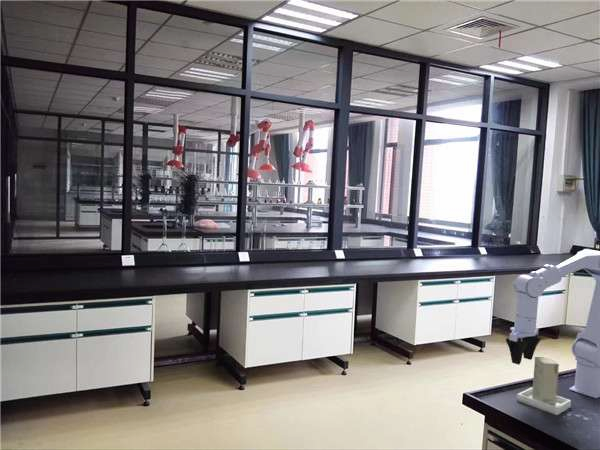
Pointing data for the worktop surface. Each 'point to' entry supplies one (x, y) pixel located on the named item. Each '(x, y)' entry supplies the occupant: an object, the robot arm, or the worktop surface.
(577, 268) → the robot arm
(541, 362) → the skincare box
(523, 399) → the tray
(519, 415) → the worktop surface
